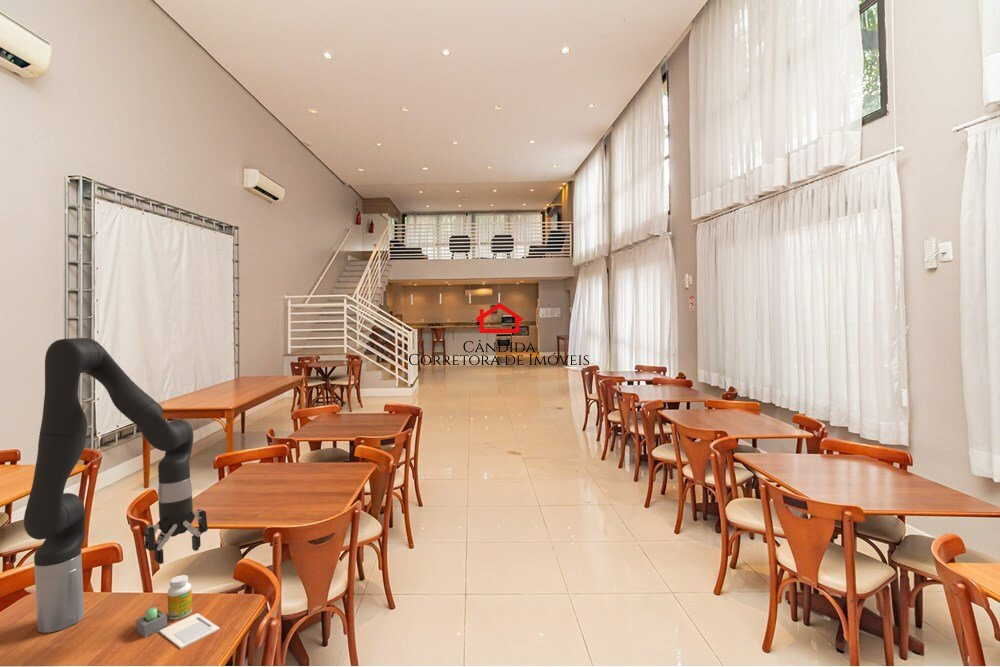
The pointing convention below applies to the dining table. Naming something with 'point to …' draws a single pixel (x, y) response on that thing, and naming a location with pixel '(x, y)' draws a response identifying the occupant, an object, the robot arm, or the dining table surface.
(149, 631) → the button housing
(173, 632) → the white flat block
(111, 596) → the dining table surface
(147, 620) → the button
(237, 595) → the dining table surface
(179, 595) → the supplement bottle
